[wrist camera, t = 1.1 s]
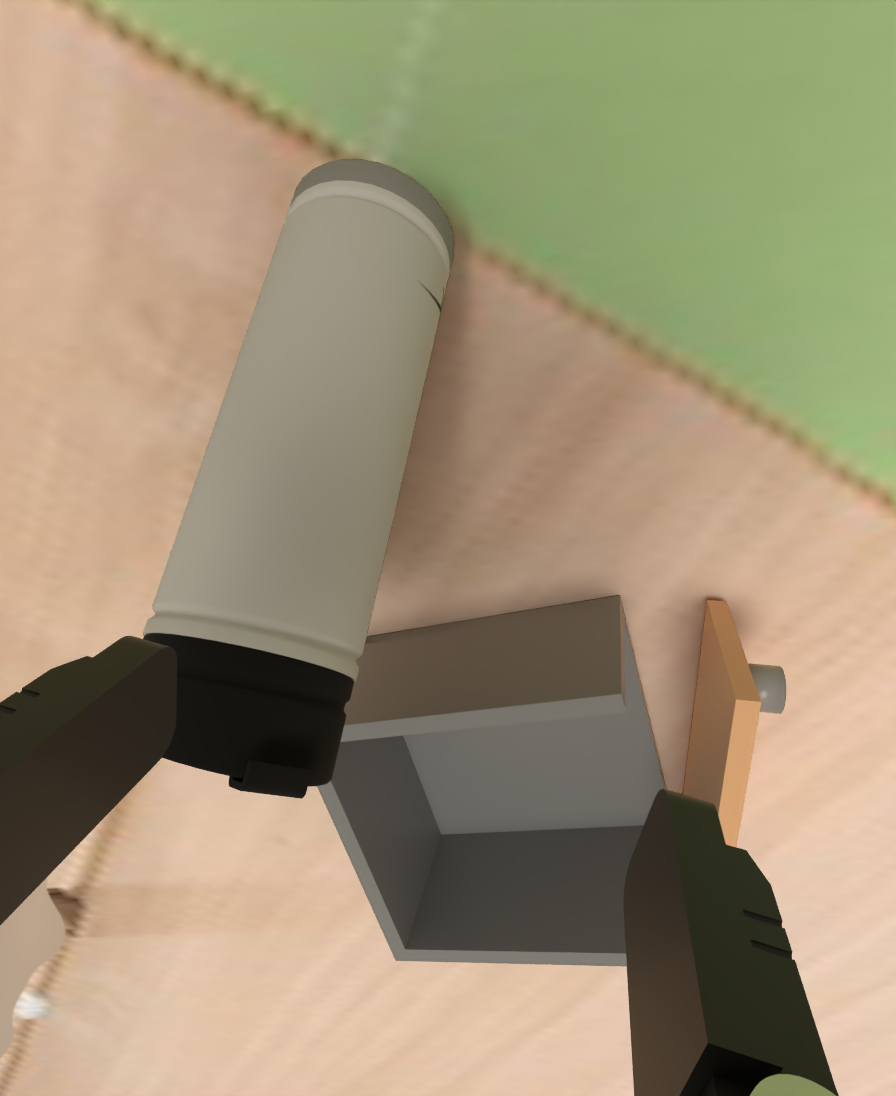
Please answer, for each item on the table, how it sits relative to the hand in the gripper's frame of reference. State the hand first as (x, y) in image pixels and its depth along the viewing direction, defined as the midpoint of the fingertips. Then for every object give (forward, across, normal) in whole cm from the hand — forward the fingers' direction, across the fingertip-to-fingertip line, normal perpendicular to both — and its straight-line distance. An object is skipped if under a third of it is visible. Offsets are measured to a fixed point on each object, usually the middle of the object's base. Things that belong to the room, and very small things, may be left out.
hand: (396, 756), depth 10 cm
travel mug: (+18, +7, -9) cm, 21 cm away
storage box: (+21, -3, +14) cm, 25 cm away
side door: (+20, -12, +10) cm, 25 cm away
